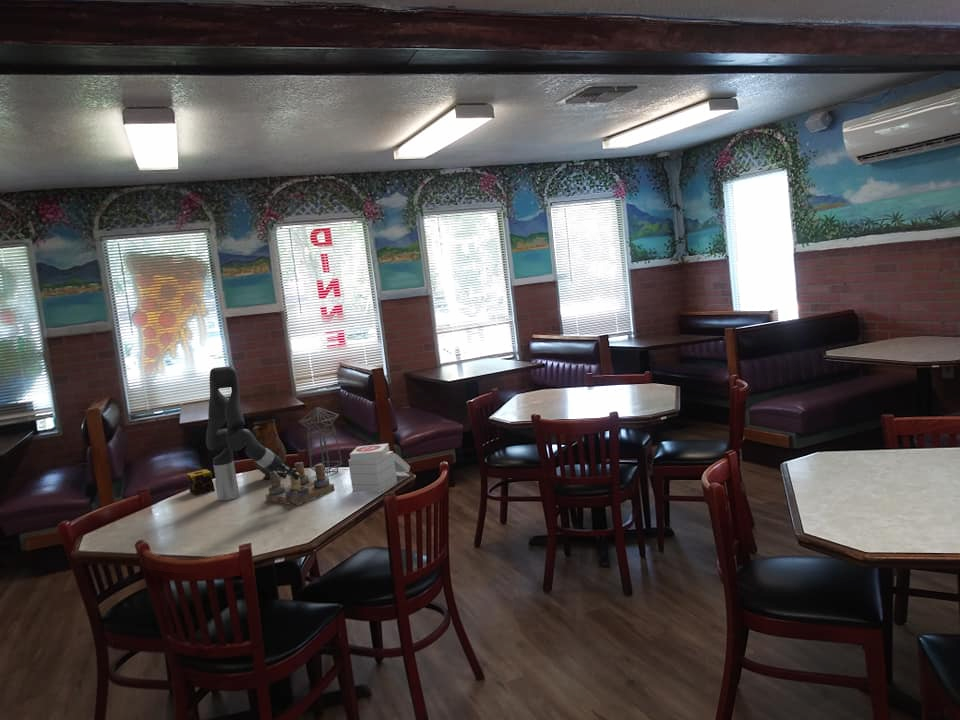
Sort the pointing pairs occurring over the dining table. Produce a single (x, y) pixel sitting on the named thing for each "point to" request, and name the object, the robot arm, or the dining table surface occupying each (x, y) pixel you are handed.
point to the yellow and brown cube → (200, 482)
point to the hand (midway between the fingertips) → (291, 477)
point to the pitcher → (268, 442)
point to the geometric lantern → (322, 436)
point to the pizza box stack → (374, 468)
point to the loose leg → (295, 483)
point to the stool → (307, 488)
